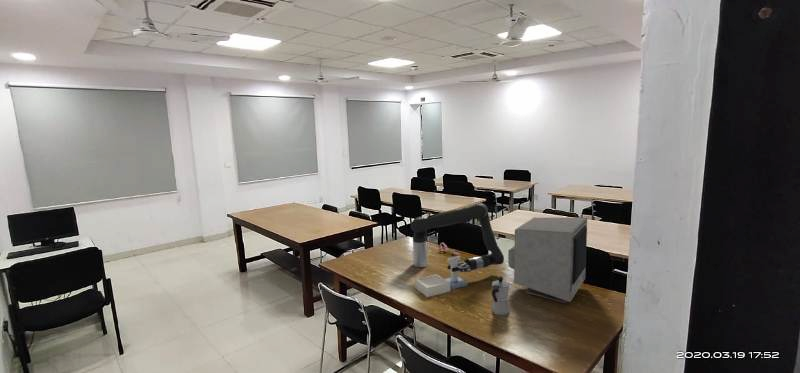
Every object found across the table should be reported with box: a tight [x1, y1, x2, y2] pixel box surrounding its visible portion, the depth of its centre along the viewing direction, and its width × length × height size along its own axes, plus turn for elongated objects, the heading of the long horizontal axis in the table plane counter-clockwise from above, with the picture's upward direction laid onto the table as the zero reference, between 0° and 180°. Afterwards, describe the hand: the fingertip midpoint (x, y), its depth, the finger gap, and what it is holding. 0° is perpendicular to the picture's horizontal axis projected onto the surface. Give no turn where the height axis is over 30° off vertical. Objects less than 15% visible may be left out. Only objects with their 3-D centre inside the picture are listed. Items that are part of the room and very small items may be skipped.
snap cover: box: [444, 255, 468, 290], centre depth 219 cm, size 11×11×16 cm
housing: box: [414, 274, 451, 298], centre depth 213 cm, size 15×15×5 cm
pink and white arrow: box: [439, 242, 461, 256], centre depth 275 cm, size 7×1×20 cm
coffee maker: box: [491, 275, 511, 316], centre depth 183 cm, size 15×9×18 cm, turn 141°
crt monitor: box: [507, 217, 588, 304], centre depth 203 cm, size 35×37×40 cm
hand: (450, 268), depth 217 cm, fingers open, 4 cm apart
